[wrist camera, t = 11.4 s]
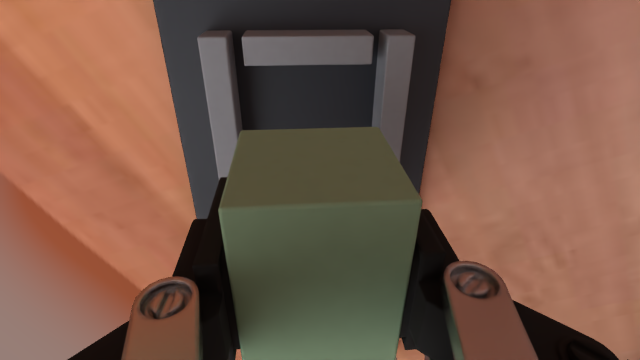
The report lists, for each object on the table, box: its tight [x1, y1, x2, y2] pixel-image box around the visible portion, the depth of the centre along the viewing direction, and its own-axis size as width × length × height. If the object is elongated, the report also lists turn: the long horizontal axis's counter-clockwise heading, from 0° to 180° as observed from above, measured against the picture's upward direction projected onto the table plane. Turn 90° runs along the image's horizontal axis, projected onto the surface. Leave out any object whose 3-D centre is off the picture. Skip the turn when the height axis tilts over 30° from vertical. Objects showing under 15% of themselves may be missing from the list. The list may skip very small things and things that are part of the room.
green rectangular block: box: [218, 127, 422, 360], centre depth 10 cm, size 6×4×4 cm, turn 0°
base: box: [153, 0, 451, 219], centre depth 16 cm, size 14×11×2 cm
